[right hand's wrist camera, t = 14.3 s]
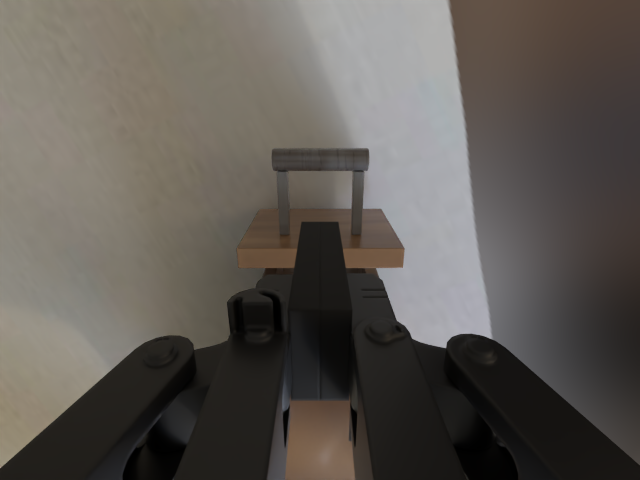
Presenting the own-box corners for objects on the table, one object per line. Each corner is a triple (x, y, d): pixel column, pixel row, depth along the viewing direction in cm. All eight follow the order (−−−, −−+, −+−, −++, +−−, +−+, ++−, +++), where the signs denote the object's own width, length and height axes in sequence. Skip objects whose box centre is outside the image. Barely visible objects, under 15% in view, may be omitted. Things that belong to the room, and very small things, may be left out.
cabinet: (261, 308, 31) (235, 395, 21) (379, 308, 31) (405, 395, 21) (271, 453, 37) (255, 569, 28) (369, 453, 37) (386, 569, 28)
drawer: (255, 139, 25) (227, 154, 17) (385, 139, 25) (413, 153, 17) (270, 380, 32) (256, 461, 25) (370, 380, 32) (385, 461, 25)
